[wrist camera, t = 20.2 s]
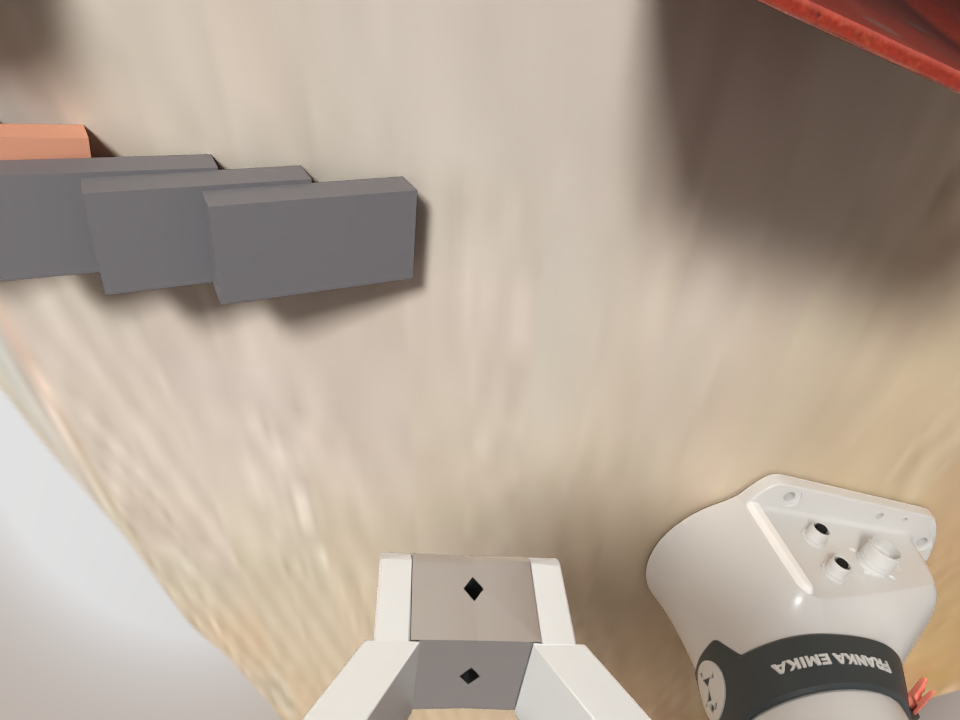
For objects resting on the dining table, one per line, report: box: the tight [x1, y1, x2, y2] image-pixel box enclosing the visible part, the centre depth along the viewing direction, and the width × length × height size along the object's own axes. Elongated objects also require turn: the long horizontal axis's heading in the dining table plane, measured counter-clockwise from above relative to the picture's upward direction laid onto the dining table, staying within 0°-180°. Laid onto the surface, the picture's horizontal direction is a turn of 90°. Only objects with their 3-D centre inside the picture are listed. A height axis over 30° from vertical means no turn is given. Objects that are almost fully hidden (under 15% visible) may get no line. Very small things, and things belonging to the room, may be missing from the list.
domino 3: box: [0, 154, 218, 281], centre depth 33 cm, size 2×5×10 cm
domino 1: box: [201, 177, 417, 305], centre depth 35 cm, size 2×5×10 cm
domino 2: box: [81, 166, 312, 295], centre depth 34 cm, size 2×5×10 cm
